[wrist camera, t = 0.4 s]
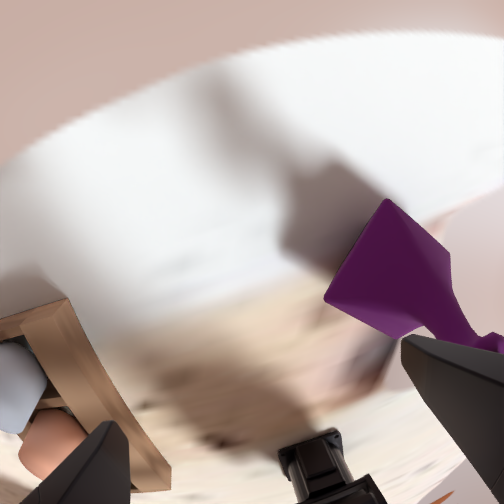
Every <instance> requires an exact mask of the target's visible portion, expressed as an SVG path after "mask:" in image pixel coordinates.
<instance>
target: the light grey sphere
mask: <svg viewBox="0 0 504 504" xmlns="http://www.w3.org/2000/svg"><path fill="white" fill-rule="evenodd" d="M46 386H47V377H46V373H45V371H44V369H43V367H42V366H41V364H40V362H39V361H38V359H37V358H36V357H35V356H34V355H33V354H32V353H31V352H30V351H29V350H28V349H26V348H25V347H24V346H22V345H20V344H18V343H15V342H11V341H5V342H2V343H0V430H2V431H4V432H7V433H11V434H19V433H21V432H22V431H23V430H24V428H25V426H26V424H27V422H28V420H29V418H30V416H31V414H32V412H33V410H34V409H35V407H36V405H37V403H38V401H39V399H40V397H41V396H42V394H43V392H44V390H45V388H46Z"/></svg>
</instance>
